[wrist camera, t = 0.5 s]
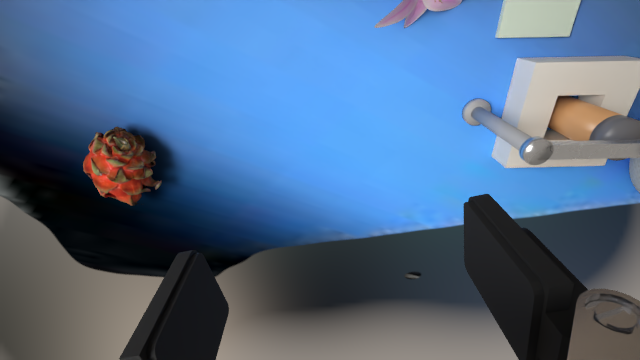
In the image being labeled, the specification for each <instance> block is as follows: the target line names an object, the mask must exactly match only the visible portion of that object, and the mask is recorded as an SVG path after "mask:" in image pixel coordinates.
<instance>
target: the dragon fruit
mask: <svg viewBox="0 0 640 360" xmlns="http://www.w3.org/2000/svg"><path fill="white" fill-rule="evenodd" d="M144 147H145V140H144V139H143V137H142V136H141V135H137V136H134V135H132V134H131V133H129V132H126V130H125V129H122V128H119V127H115V128H114V129H112V130H109V131H108V132H106V133H105V134H104V135H103V134H102V133H98V132H96V135H95V138H94V139H93V140H92V142H91V143H90V145H89V150H90V153H89V154H88V155H87V156H86V158H85V160H84V163H83V168H84V172H85V173H86V174H87V175H88V176H89V177H90V178H91V179H93V182H94V185H95V186H96V188H97V189H98V191H99V193H100V194H101V195H102V196H103V197H105V198H106V197H112V198H116V199H118V200H120V201H122V202H126V203H128V204H130V205H132V206H135V205H136V204H137V201H138V200H139V199H140V198H141V196H142V195H141V193H142V192H151V190H150V189H148V188H146V186H149V187H153V186H155V189H158V188H159V186H160V185H161V183H162V181H155V180H154V179H153V178H152V177H151V175H152V174H153V171H152V170H151V169H150V168H151V167H153V166H155V164H156V163H155V161H154V159H155V158H156V153H155V151H152V152H149V151H146V150H144ZM141 205H142V204H141Z"/></svg>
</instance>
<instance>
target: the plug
mask: <svg viewBox="0 0 640 360" xmlns="http://www.w3.org/2000/svg"><path fill="white" fill-rule="evenodd" d="M548 128H550V129H552V130H554V131H556V132H558V133H560V134H562V135H564V136H565V137H567V138H569V139H571V140H573V141H593V140H638V139H640V121H638V120H636V119H633V118H630V117H627V116H624V115H622V114H619V113H616V112H613V111H610V110H607V109H605V108H602V107H599V106H596V105H593V104H590V103H588V102H585V101H582V100H579V99H576V98H573V97H571V96H568V95H566V96H558V97H557V100H556V103H555V106H554V109H553V112H552V115H551V118H550V121H549V124H548ZM608 159H610V160H616V161H617V160H623V159H626V158H608Z"/></svg>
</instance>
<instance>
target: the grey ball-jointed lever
mask: <svg viewBox="0 0 640 360" xmlns="http://www.w3.org/2000/svg"><path fill="white" fill-rule="evenodd" d="M519 155H520V157H521V159H523V160H524V161H525V162H527V163H528V164H530V165H540V164H542V163H544V162H546V161H547V160H564V159H607V158H640V139H638V140H593V141H548V140H546V139H545V138H543V137H540V136H535V137H531V138H529V139H527V140H526V141H525V142H524V143H523V144H522V145H521V147H520V150H519Z"/></svg>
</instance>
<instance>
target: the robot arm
mask: <svg viewBox="0 0 640 360" xmlns="http://www.w3.org/2000/svg"><path fill="white" fill-rule="evenodd" d="M464 261H465V267H466V270H467V272H468V274H469V276H470V277H471V279H472V281H473V282H474V284H475V286H476V287H477V289H478V291H479V293H480V294H481V296H482V298H483V299H484V301H485V303H486V304H487V306H488V308H489V310H490V311H491V313H492V315H493V316H494V318H495V320H496V321H497V323H498V325H499V327H500V328H501V330H502V332H503V333H504V335H505V337H506V339H507V340H508V342H509V344H510V345H511V347H512V349H513V350H514V352H515V354H516V356H517V357H518V359H519V360H640V301H639V300H637V299H635V298H633V297H631V296H629V295H627V294H624V293H621V292H618V291H614V290H609V289H591V290H587V288H586V287H585V286H584V285H583V284H582V283H581V282H580V281H579V280H578V279H577V278H576V277H575V276H574V275H573V274H572V273H571V272H570V271H569V270H568V269H567V268H566V267H565V266H564V265H563V264H562V263H561V262H560V261H559V260H558V259H557V258H556V257H555V256H554V255H553V254H552V253H551V252H550V251H549V250H548V249H547V248H546V247H545V246H544V245H543V244H542V243H541V241H540V240H539V239H538V238H537V237H536V236H535V235H534V234H533V233H532V232H531V231H529V230H528V229H526V228H521V227H520V226H519V225H518V224H517V223H516V222H515V221H514V220H513V219H512V218H511V217H510V216H509V215H508V214H507V213H506V212H505V211H504V210H503V209H502V207H501V206H500V205H499V204H498V203H497V202H496V201H495V200H494V199H493V198H492V197H491V196H490V195H489V194H484V195H479V196H473V197H470V198H469V201H468V202H465V203H464ZM228 312H229V307H228V303H227V301H226V299H225V297H224V295H223V293H222V291H221V289H220V287H219V285H218V283H217V281H216V279H215V277H214V275H213V273H212V271H211V269H210V267H209V265H208V263H207V261H206V260H205V258H204V256H203V254H202V253H198V252H197V251H196V250H192V251H186V252H181V253H179V254H178V255H177V256H176V258H175V259H174V261H173V263H172V265H171V267H170V268H169V270H168V272H167V274H166V276H165V277H164V279H163V281H162V283H161V285H160V287H159V288H158V290H157V292H156V294H155V295H154V297H153V299H152V301H151V303H150V304H149V306H148V308H147V310H146V312H145V313H144V315H143V317H142V319H141V320H140V322H139V324H138V326H137V328H136V330H135V331H134V333H133V335H132V337H131V338H130V340H129V342H128V344H127V346H126V348H125V349H124V351H123V353H122V355H121V356H120V360H216V356H217V352H218V349H219V345H220V342H221V338H222V335H223V331H224V327H225V324H226V320H227V317H228Z"/></svg>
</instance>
